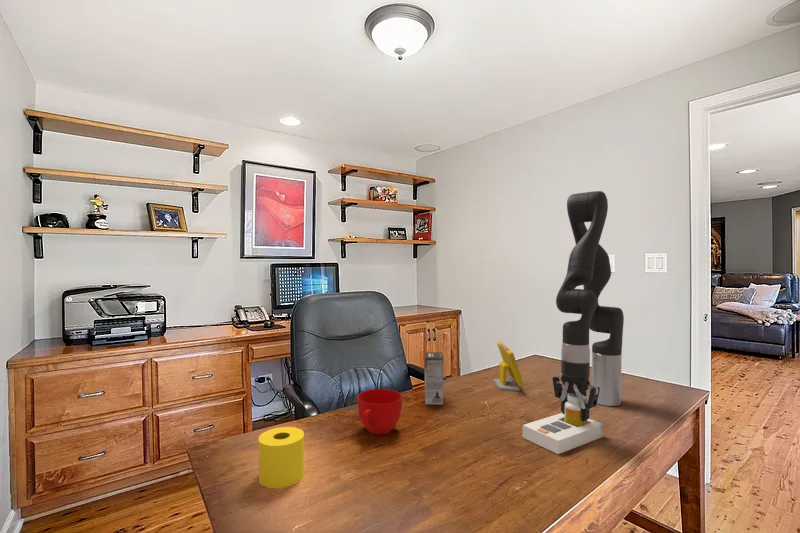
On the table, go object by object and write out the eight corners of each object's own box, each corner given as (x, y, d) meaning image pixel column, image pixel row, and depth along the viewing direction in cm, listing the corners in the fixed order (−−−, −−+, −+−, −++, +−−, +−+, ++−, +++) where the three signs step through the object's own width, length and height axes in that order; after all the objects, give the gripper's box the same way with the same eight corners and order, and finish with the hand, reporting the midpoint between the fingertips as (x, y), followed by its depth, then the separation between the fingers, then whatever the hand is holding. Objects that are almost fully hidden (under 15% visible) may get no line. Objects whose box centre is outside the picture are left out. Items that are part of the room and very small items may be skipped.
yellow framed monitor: (523, 394, 152) (524, 351, 152) (502, 394, 152) (502, 351, 152) (510, 378, 172) (510, 340, 172) (491, 378, 172) (491, 340, 172)
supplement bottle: (586, 434, 116) (587, 399, 116) (566, 432, 117) (566, 398, 117) (582, 426, 121) (582, 393, 121) (562, 424, 122) (563, 391, 122)
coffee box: (424, 395, 150) (424, 351, 150) (441, 395, 150) (442, 351, 150) (425, 404, 141) (425, 357, 141) (443, 405, 141) (444, 358, 141)
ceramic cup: (342, 441, 113) (342, 405, 113) (368, 418, 129) (368, 386, 129) (387, 449, 109) (387, 411, 108) (408, 424, 124) (408, 391, 124)
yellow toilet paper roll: (260, 492, 89) (260, 449, 88) (256, 470, 98) (256, 431, 97) (307, 482, 93) (307, 441, 92) (299, 462, 102) (299, 424, 101)
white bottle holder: (567, 422, 127) (567, 409, 126) (603, 436, 117) (603, 422, 117) (522, 437, 116) (522, 423, 116) (558, 454, 106) (558, 439, 106)
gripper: (607, 362, 114) (606, 423, 115) (562, 352, 127) (561, 407, 127) (590, 366, 110) (589, 429, 111) (545, 355, 123) (545, 411, 123)
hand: (574, 417), depth 119 cm, fingers closed on supplement bottle, 5 cm apart
